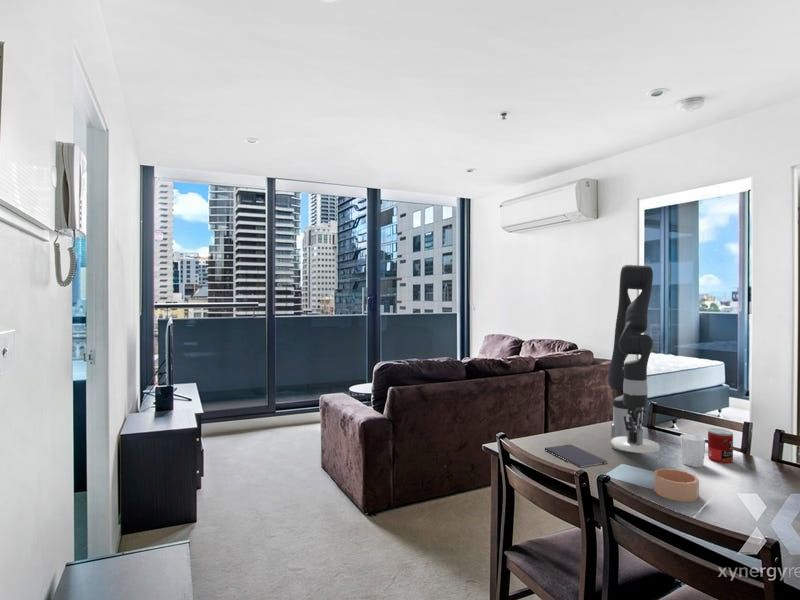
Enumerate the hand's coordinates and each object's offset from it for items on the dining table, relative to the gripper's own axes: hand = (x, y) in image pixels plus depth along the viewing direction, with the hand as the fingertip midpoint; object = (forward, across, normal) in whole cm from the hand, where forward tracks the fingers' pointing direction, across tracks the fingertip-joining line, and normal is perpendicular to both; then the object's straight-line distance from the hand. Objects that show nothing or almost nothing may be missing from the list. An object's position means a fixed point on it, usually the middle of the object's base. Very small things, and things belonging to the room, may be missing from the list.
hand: (634, 441), depth 164 cm
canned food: (+13, -39, +16) cm, 44 cm away
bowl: (+12, +6, +15) cm, 20 cm away
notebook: (+13, -4, -24) cm, 27 cm away
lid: (+2, 0, 0) cm, 2 cm away
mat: (+12, 0, +1) cm, 12 cm away
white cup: (+13, -27, +10) cm, 31 cm away
